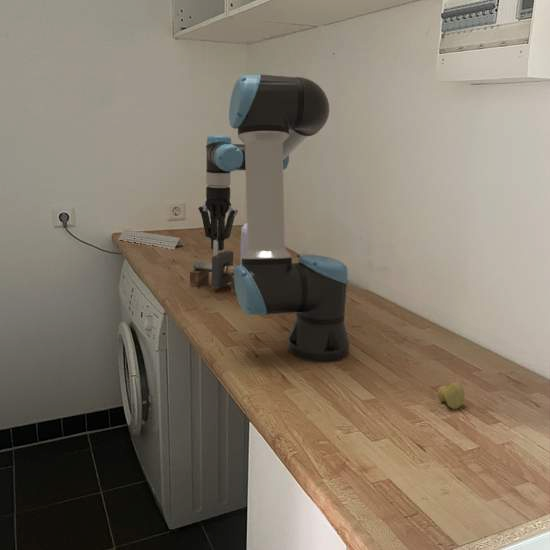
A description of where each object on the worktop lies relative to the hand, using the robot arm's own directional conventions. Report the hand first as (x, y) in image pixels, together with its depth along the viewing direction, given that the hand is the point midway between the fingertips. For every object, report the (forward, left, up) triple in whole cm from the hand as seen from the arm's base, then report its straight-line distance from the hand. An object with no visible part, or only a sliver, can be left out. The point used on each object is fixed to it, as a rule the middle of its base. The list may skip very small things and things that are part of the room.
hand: (217, 259), depth 185 cm
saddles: (0, -1, -10) cm, 10 cm away
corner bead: (+42, +54, -10) cm, 69 cm away
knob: (-47, -79, -10) cm, 92 cm away
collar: (0, -2, -8) cm, 8 cm away
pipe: (0, -1, -5) cm, 5 cm away
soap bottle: (+27, -1, -10) cm, 29 cm away
